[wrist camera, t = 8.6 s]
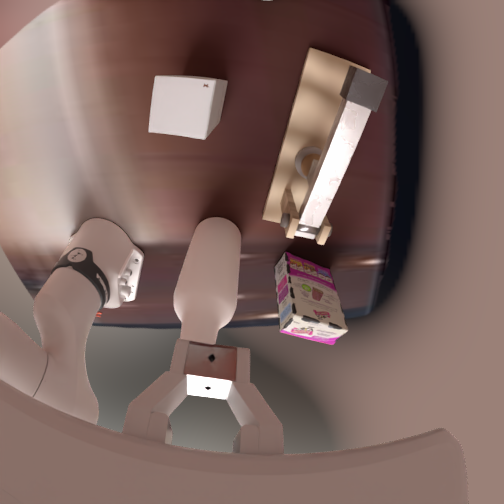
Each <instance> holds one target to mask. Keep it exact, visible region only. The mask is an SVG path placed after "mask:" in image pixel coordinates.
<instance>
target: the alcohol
mask: <svg viewBox="0 0 504 504" xmlns="http://www.w3.org/2000/svg"><path fill="white" fill-rule="evenodd" d="M240 250H241V234H240V231H239V229H238V228H237V226H236V225H235V224H234V223H232V222H231V221H229V220H227V219H225V218H220V217H212V218H208V219H205V220H203V221H202V222H200V223H199V224H198V226H197V227H196V229H195V232H194V235H193V238H192V240H191V243H190V246H189V249H188V252H187V255H186V258H185V261H184V264H183V267H182V270H181V273H180V276H179V279H178V282H177V286H176V289H175V292H174V309H175V312H176V314H177V316H178V317H179V319H180V320H181V322H182V328H181V335H180V339H184V340H190V341H195V342H201V343H207V344H215V342H216V338H217V333H218V330H219V329H220V328H222V327H223V326H225V325H226V324H227V323H228V322H229V321H230V320H231V318H232V316H233V314H234V312H235V309H236V305H237V291H238V277H239V263H240Z"/></svg>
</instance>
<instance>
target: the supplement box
mask: <svg viewBox="0 0 504 504" xmlns="http://www.w3.org/2000/svg"><path fill="white" fill-rule="evenodd" d="M227 82H228V81H226V80H221V79H214V78H207V77H198V76H180V75H160V76H155V80H154V87H153V94H152V101H151V109H150V119H149V130H148V132H153V133H163V134H171V135H178V136H185V137H191V138H198V139H203V140H204V139H206V138H207V137H208V135H209V134H210V133H211V132H212V130H213V129H214V128H215V127H216V126H217V125H218V123H219V122H220V118H221V113H222V108H223V103H224V98H225V93H226V88H227Z"/></svg>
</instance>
